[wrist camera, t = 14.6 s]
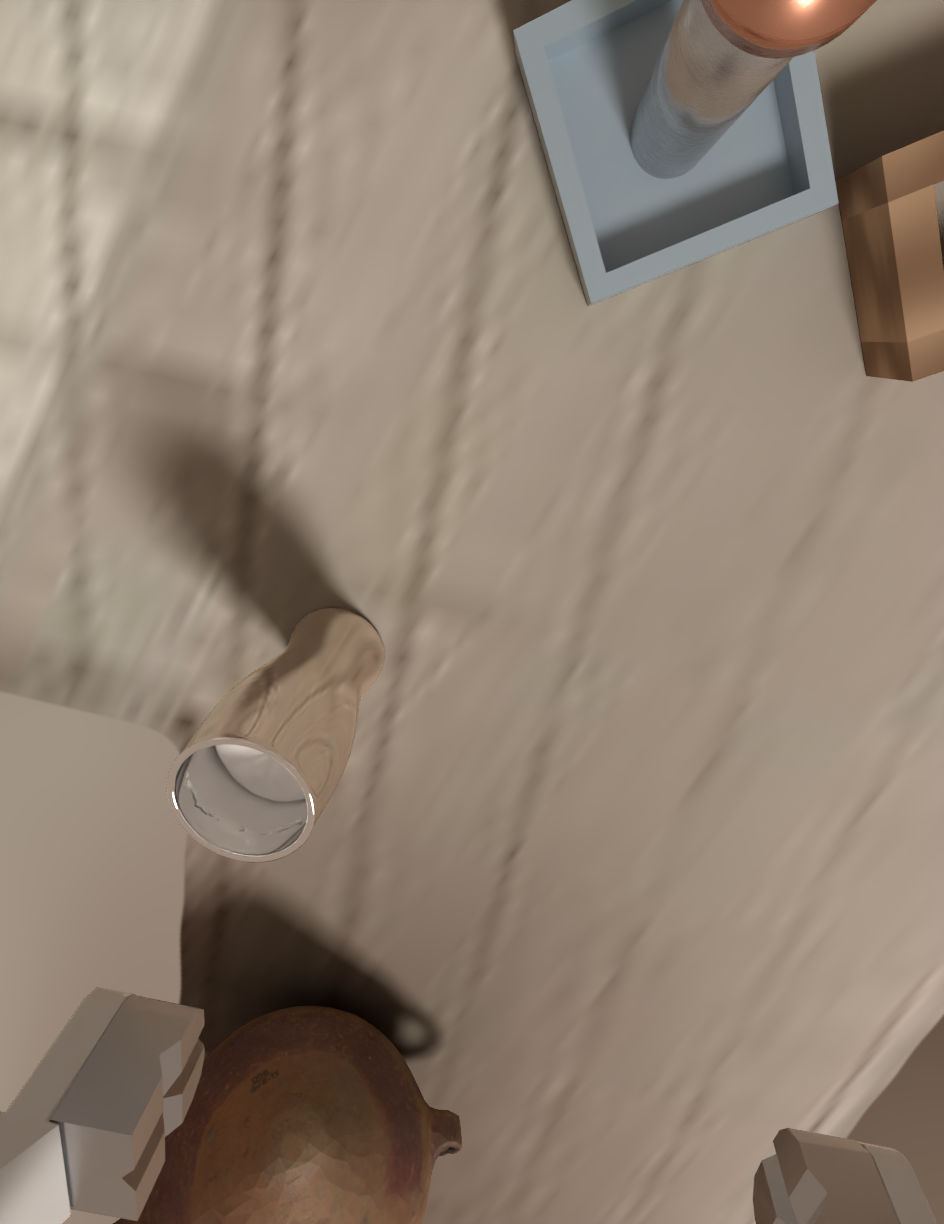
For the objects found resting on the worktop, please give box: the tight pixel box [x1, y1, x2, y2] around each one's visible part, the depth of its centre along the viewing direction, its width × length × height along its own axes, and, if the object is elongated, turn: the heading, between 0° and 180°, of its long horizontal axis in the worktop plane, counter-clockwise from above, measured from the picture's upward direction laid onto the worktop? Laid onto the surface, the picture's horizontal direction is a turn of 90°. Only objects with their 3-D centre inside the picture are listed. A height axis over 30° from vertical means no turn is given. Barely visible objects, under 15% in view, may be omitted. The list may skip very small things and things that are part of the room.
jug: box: [113, 1006, 462, 1224], centre depth 51 cm, size 20×20×30 cm
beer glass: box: [167, 608, 384, 862], centre depth 35 cm, size 7×7×15 cm
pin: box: [630, 0, 876, 179], centre depth 22 cm, size 5×5×17 cm
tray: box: [513, 0, 839, 306], centre depth 29 cm, size 11×11×2 cm
